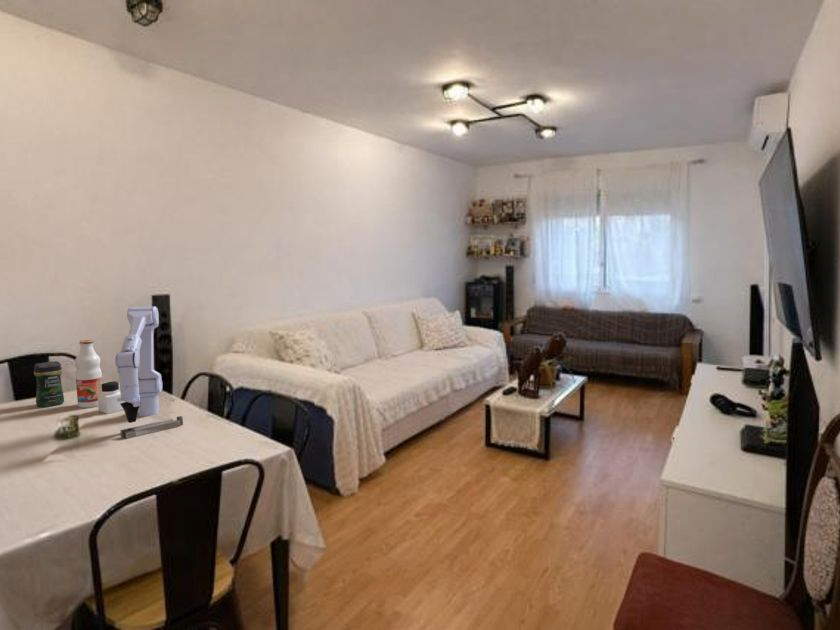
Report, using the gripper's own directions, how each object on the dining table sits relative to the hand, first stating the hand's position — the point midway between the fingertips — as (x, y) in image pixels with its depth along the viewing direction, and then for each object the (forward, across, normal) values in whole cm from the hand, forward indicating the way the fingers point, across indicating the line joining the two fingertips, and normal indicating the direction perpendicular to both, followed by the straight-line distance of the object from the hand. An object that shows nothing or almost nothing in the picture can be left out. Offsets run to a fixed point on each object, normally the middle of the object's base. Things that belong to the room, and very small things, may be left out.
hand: (132, 421), depth 178 cm
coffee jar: (+5, -65, -13) cm, 67 cm away
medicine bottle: (+5, -37, +3) cm, 38 cm away
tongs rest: (+5, +3, +5) cm, 7 cm away
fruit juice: (+5, -52, -1) cm, 53 cm away
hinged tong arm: (+3, +5, +4) cm, 7 cm away
